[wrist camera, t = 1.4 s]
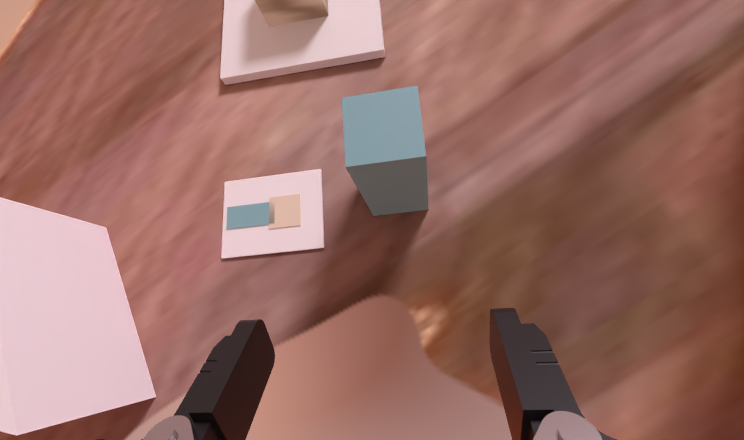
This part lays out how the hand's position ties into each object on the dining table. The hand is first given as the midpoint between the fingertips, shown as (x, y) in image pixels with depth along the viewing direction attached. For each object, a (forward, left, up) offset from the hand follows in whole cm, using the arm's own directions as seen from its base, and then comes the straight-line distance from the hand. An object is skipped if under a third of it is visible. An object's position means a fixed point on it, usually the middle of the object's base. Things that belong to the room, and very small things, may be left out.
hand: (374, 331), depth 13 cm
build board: (+8, -32, -15) cm, 36 cm away
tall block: (0, -11, -15) cm, 19 cm away
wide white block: (+32, -5, -15) cm, 35 cm away
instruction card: (+11, -10, -15) cm, 21 cm away
